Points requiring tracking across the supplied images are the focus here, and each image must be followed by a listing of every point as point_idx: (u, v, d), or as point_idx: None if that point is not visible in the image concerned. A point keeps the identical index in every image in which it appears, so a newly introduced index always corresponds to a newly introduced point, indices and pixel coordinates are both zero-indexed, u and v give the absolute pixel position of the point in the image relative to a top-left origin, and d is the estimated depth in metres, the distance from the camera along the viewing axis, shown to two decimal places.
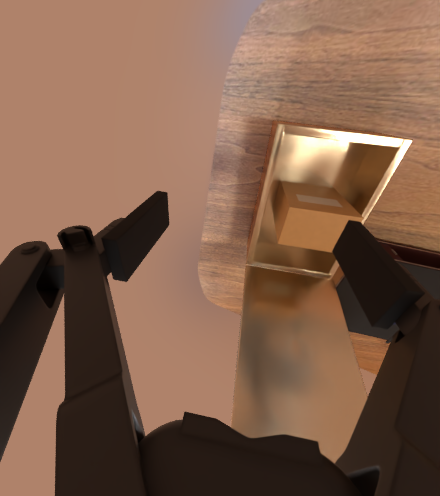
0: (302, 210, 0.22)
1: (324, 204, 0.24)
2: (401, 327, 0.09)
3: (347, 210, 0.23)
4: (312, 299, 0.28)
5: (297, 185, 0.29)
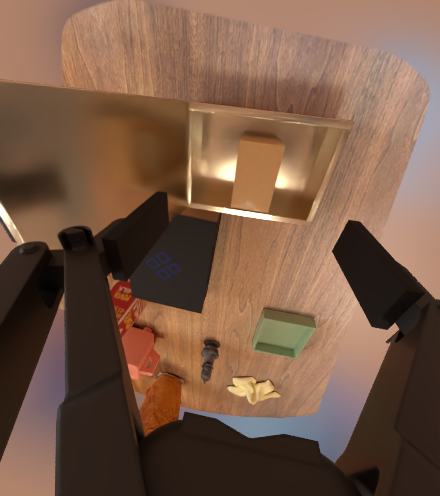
0: (280, 160, 0.22)
1: None
2: (401, 327, 0.09)
3: None
4: (171, 192, 0.26)
5: None
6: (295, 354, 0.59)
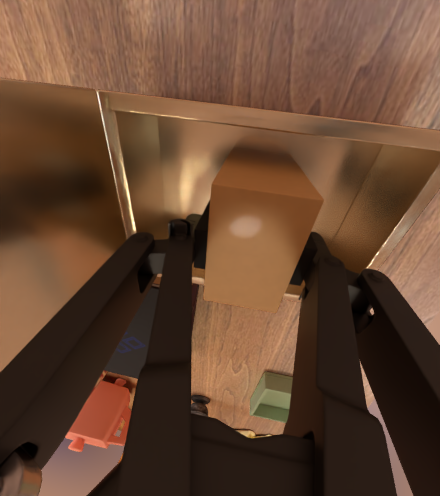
0: (308, 228, 0.09)
1: None
2: (305, 284, 0.11)
3: None
4: (82, 277, 0.13)
5: None
6: None
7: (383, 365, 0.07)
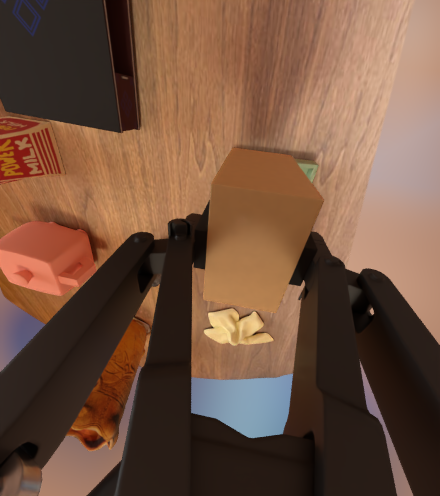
0: (308, 228, 0.09)
1: None
2: (305, 284, 0.11)
3: None
4: None
5: None
6: None
7: (383, 364, 0.07)
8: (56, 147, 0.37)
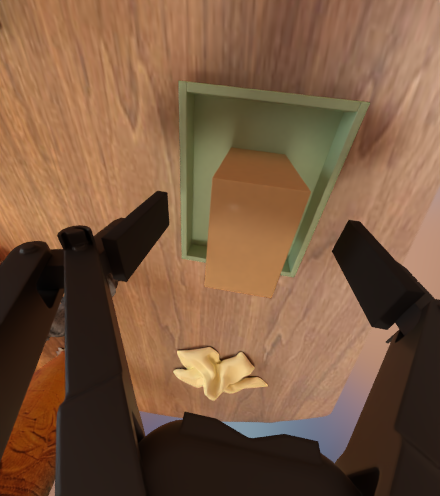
0: (298, 217, 0.11)
1: None
2: (401, 327, 0.09)
3: None
4: None
5: None
6: (292, 262, 0.22)
7: None
8: None
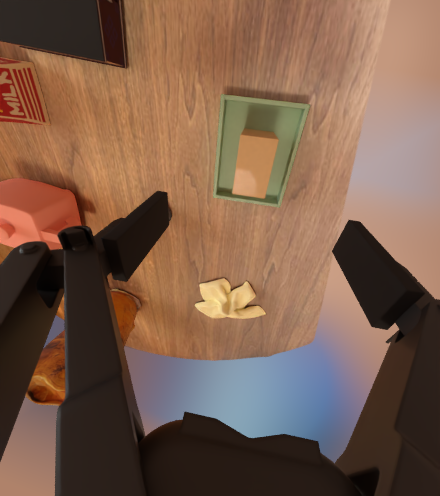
0: (274, 151, 0.26)
1: None
2: (401, 327, 0.09)
3: None
4: None
5: None
6: (279, 198, 0.38)
7: None
8: (40, 92, 0.35)
